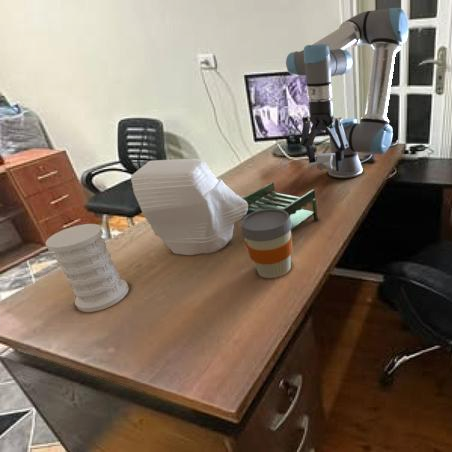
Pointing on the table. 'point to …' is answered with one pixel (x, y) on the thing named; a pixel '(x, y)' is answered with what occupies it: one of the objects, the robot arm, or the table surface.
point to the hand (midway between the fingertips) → (325, 167)
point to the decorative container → (88, 267)
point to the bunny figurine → (324, 161)
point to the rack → (292, 208)
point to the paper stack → (187, 205)
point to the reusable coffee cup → (269, 241)
